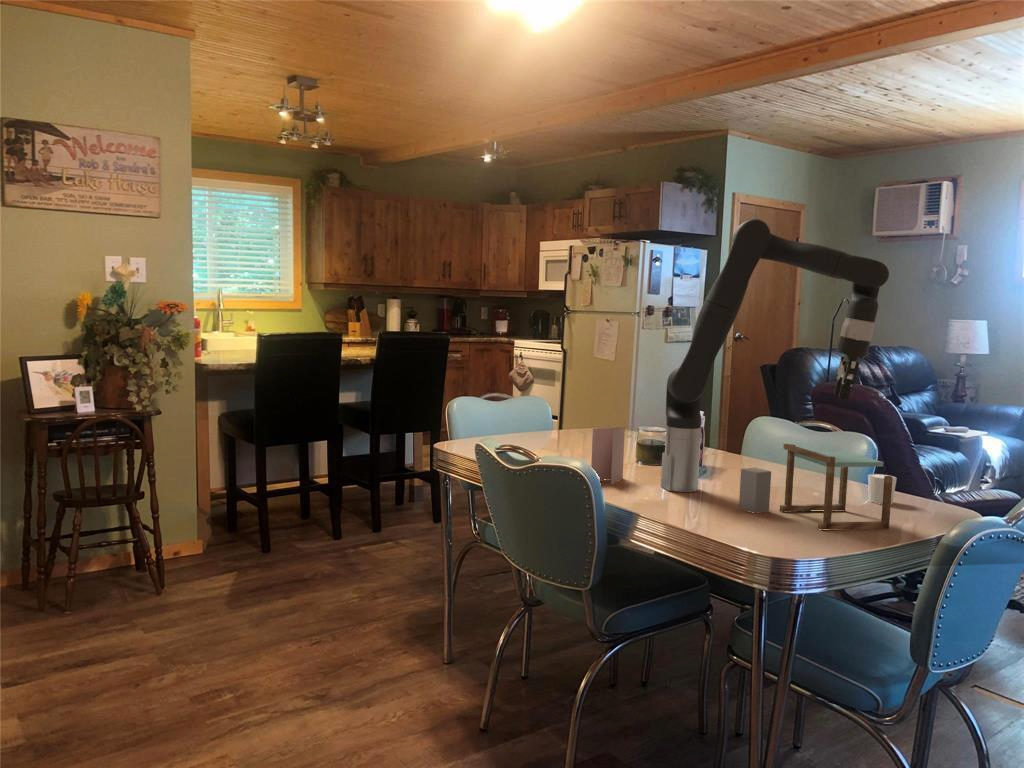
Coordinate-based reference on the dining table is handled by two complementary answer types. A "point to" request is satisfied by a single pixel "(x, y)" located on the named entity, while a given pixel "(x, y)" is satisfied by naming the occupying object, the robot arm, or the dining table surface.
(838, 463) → the trapdoor
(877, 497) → the white cup
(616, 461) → the greeting card
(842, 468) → the frame
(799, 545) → the dining table surface
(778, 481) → the dining table surface
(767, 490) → the granite block
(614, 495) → the dining table surface
